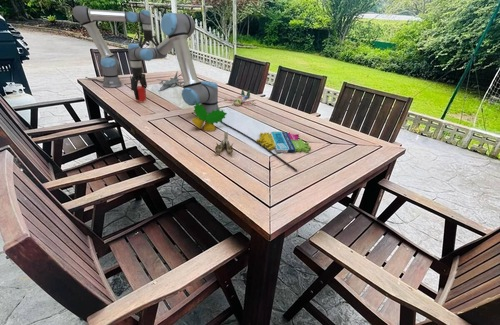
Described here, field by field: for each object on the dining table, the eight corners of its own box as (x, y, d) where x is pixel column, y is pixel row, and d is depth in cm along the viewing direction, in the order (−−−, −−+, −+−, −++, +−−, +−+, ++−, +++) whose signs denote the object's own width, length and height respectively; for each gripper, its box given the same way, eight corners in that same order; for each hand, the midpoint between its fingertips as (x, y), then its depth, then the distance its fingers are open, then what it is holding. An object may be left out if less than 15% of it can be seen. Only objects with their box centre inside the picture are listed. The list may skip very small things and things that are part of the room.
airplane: (151, 82, 259) (149, 71, 254) (182, 80, 273) (181, 70, 267) (158, 92, 231) (157, 81, 226) (193, 90, 244) (192, 79, 239)
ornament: (218, 133, 171) (224, 110, 169) (221, 134, 163) (227, 111, 161) (186, 125, 162) (192, 101, 160) (189, 126, 155) (195, 101, 153)
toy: (261, 91, 228) (254, 99, 202) (261, 99, 231) (253, 108, 205) (231, 87, 233) (220, 95, 207) (230, 95, 236) (219, 104, 210)
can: (139, 98, 206) (137, 85, 201) (147, 99, 205) (146, 86, 200) (134, 100, 200) (132, 87, 195) (142, 101, 199) (141, 88, 194)
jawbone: (234, 135, 144) (233, 125, 135) (233, 160, 138) (232, 151, 129) (217, 135, 144) (216, 125, 135) (216, 160, 138) (214, 150, 129)
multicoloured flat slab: (313, 150, 142) (258, 149, 139) (312, 153, 143) (258, 152, 140) (301, 132, 164) (254, 130, 161) (301, 134, 165) (254, 133, 162)
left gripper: (135, 29, 226) (139, 56, 237) (162, 30, 242) (164, 54, 253) (131, 29, 231) (135, 54, 241) (158, 29, 247) (160, 53, 257)
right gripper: (141, 64, 200) (145, 94, 211) (122, 68, 183) (127, 100, 194) (149, 65, 198) (153, 95, 209) (130, 69, 181) (135, 101, 192)
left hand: (150, 54), depth 247 cm, fingers open, 13 cm apart
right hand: (140, 97), depth 202 cm, fingers closed on can, 7 cm apart
